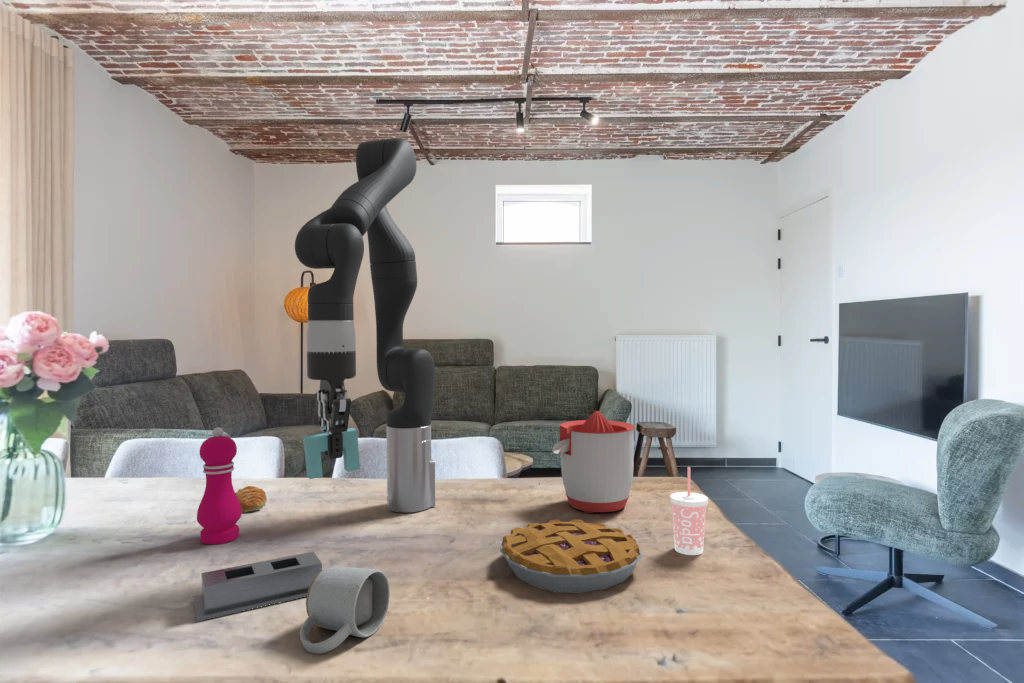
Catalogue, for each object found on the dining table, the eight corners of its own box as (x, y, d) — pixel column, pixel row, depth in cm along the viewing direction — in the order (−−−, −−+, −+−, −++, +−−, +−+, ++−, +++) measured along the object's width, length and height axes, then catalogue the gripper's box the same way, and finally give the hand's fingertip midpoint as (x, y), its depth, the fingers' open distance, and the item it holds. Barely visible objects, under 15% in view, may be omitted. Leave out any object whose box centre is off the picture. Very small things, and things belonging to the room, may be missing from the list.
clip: (356, 466, 100) (352, 427, 100) (360, 469, 98) (357, 429, 98) (306, 476, 96) (302, 436, 95) (310, 479, 94) (306, 438, 93)
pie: (545, 612, 80) (545, 575, 79) (478, 556, 99) (477, 526, 99) (671, 579, 90) (671, 546, 90) (588, 534, 109) (587, 507, 109)
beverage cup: (664, 551, 100) (664, 468, 100) (678, 540, 105) (678, 461, 105) (700, 559, 97) (700, 473, 96) (713, 548, 101) (713, 466, 101)
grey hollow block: (319, 574, 92) (318, 548, 92) (330, 591, 86) (330, 563, 86) (193, 601, 83) (192, 572, 83) (196, 622, 77) (196, 591, 77)
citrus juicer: (542, 499, 131) (541, 408, 130) (614, 492, 136) (614, 404, 135) (568, 521, 116) (568, 418, 115) (649, 513, 121) (649, 414, 120)
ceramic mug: (339, 609, 80) (338, 552, 80) (391, 619, 77) (390, 560, 77) (282, 650, 71) (280, 586, 70) (339, 664, 68) (338, 597, 67)
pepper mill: (224, 547, 103) (222, 431, 103) (187, 544, 105) (185, 430, 104) (250, 533, 110) (248, 424, 110) (216, 530, 112) (214, 423, 111)
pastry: (270, 511, 124) (269, 493, 124) (234, 517, 121) (233, 498, 121) (264, 500, 132) (263, 483, 132) (230, 505, 129) (229, 487, 129)
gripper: (367, 349, 92) (369, 461, 93) (343, 347, 104) (344, 446, 105) (317, 351, 88) (319, 467, 89) (298, 348, 100) (299, 451, 101)
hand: (333, 455), depth 97 cm, fingers closed on clip, 2 cm apart
